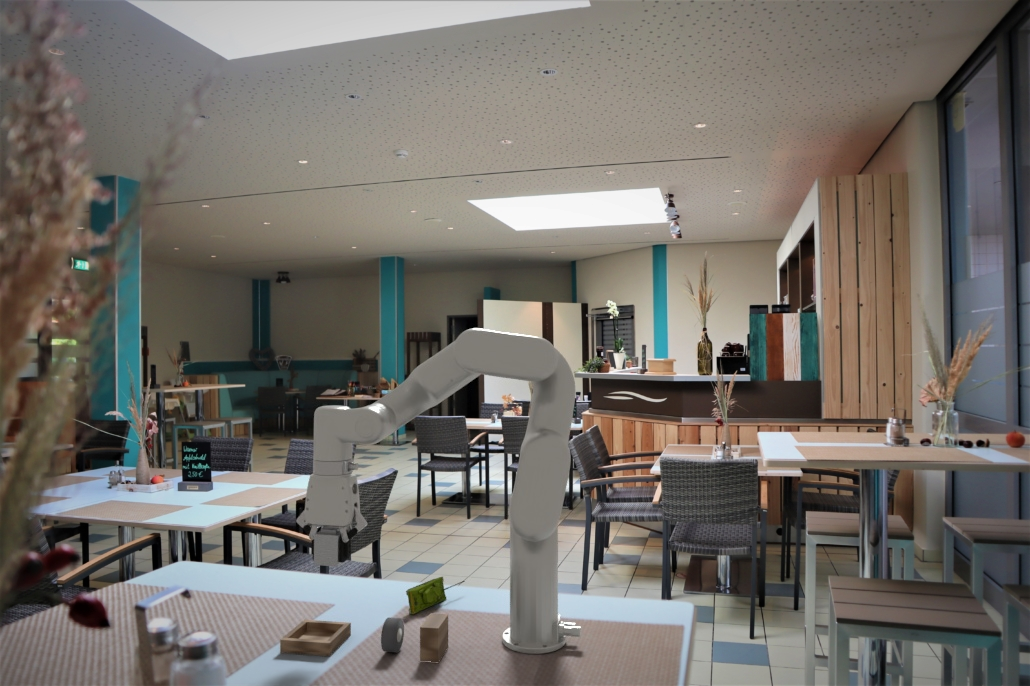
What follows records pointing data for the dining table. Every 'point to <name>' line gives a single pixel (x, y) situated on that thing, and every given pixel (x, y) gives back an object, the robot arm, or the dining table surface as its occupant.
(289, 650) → the tray
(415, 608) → the toy tank
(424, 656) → the block
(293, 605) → the dining table surface
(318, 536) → the block
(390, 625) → the wheel
